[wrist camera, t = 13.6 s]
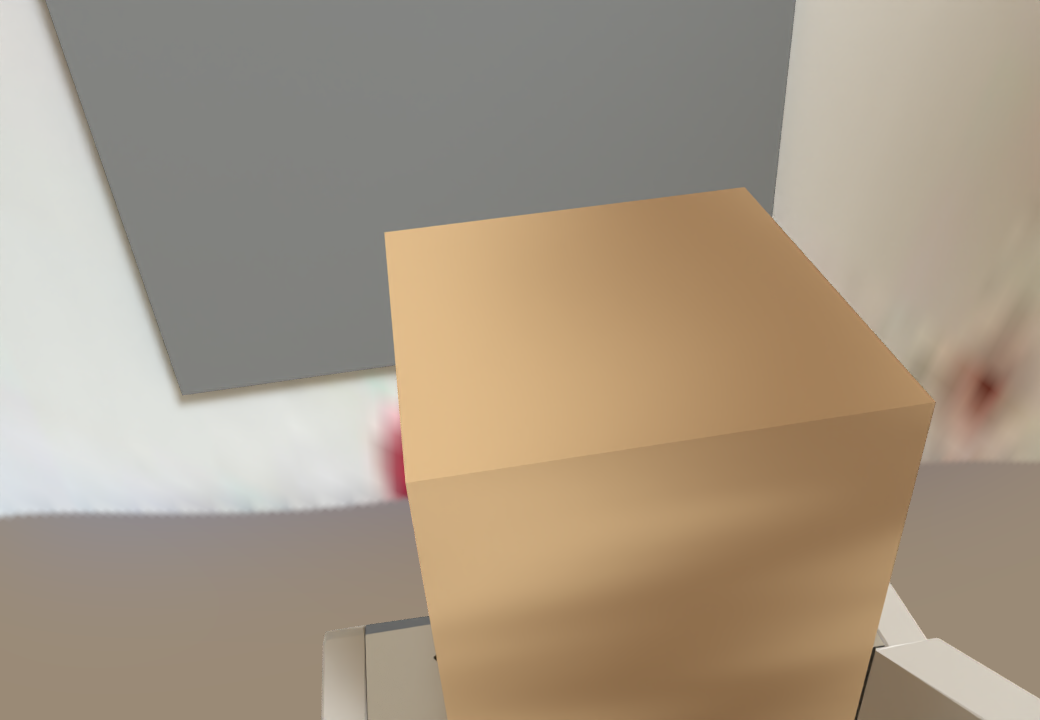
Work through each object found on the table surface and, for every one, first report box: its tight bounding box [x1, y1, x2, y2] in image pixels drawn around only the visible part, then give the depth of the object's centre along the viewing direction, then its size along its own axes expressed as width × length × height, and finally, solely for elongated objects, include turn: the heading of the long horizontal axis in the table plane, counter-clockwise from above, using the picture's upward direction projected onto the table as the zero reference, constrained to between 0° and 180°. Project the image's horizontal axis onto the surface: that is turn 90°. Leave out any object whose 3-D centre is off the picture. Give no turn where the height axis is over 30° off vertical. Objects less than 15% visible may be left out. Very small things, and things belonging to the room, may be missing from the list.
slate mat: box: [45, 0, 796, 395], centre depth 27 cm, size 20×16×1 cm
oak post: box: [384, 187, 936, 720], centre depth 12 cm, size 4×4×12 cm
